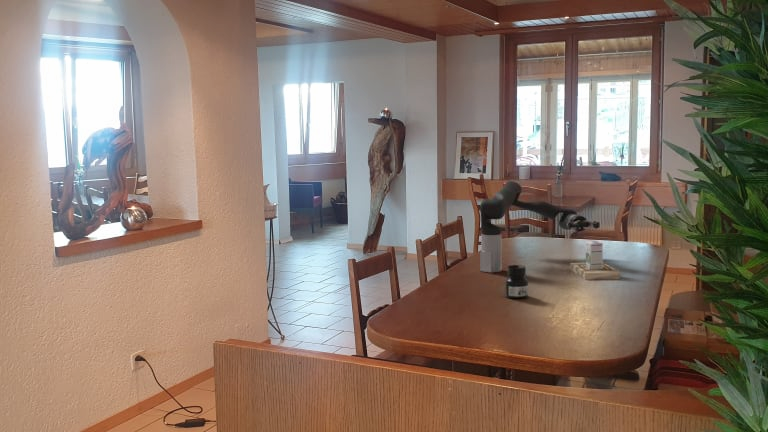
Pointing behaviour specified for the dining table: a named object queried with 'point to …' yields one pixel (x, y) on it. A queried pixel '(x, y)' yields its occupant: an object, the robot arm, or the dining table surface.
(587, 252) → the syrup box
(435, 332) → the dining table surface
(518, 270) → the ink bottle
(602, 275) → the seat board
